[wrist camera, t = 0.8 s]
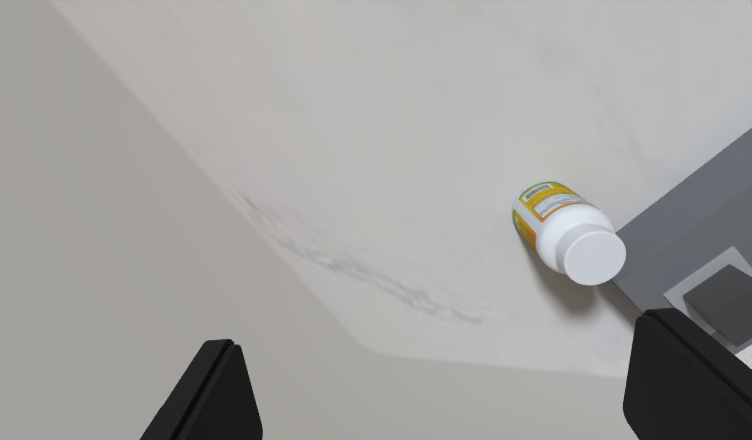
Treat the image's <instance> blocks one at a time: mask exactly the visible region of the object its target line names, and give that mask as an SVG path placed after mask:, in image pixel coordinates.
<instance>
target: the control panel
mask: <svg viewBox="0 0 752 440" xmlns="http://www.w3.org/2000/svg"><path fill="white" fill-rule="evenodd" d="M616 235H617V236H618V237H619V238H620V239H621V240H622V242H623V243H624V245H625V249H626V259H625V262H624V265H623V267H622V268H621V270H620V271H619V272H618V273H617V274H616V275H615V276H614V277H613V278H611V279H610V280H611V281H612V282H613V283H614V284H615V285H616V286H617V287H618V288H619V289H620V291H621V292H622V293H623V294H624V295H625V296H626V297H627V298H628V299H629V300H630V301H631V302H632V303H633V304H634V305H635V306H636V307H637V308H638V309H639V310H640V311H641V312H642V313H644V312H645V310H648V309H659V308H677V309H678V310H680V311H681V312H683V313H684V314H685V315H686V316H687V317H689V318H690V319H691V320H692V321H694V322H695V323H696V324H697V325H698V326H700V327H701V328H702V329H703V330H704V331H706V332H707V333H708V334H709V335H710V336H712V337H713V338H714V339H715V340H717V341H718V342H719V343H720V344H721V345H723V346H724V347H725V348H726V349H727V350H729V351H730V352H731V353H732V354H734V355H735V354H737V353H738V352H740V351H742V350H743V349H745V348H747V347H748V346H750V345H751V344H752V128H751V129H750V130H749V131H747V132H746V133H745V134H743V135H742V136H741V137H740V138H738V139H737V140H736V141H734V142H733V143H732V144H730V145H729V146H728V147H727V148H725V149H724V150H723V151H721V152H720V153H719V154H717V155H716V156H715V157H714V158H712V159H711V160H710V161H708V162H707V163H706V164H705V165H703V166H702V167H701V168H699V169H698V170H697V171H695V172H694V173H693V174H692V175H690V176H689V177H688V178H686V179H685V180H684V181H683V182H681V183H680V184H679V185H677V186H676V187H675V188H673V189H672V190H671V191H670V192H668V193H667V194H666V195H664V196H663V197H662V198H660V199H659V200H658V201H657V202H655V203H654V204H653V205H651V206H650V207H649V208H648V209H646V210H645V211H644V212H642V213H641V214H640V215H638V216H637V217H636V218H635V219H633V220H632V221H631V222H629V223H628V224H627V225H626V226H624V227H623V228H622V229H620V230H619V231H618V232H616Z"/></svg>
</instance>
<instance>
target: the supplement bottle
mask: <svg viewBox="0 0 752 440" xmlns="http://www.w3.org/2000/svg"><path fill="white" fill-rule="evenodd" d="M512 218H513V222H514V224H515V226H516V228H517V229H518V231H519V232H520V233H521V235H522V236H523V237H524V238H525V239H526V241H527V242H528V243H529V245H530V246H531V247H532V248H533V250H534V251H535V252H536V254H537V255H538V256H539V257H540V259H541V260H542V261H543V262H544V263H545V264H546V265H547V266H548V267H549V268H550V269H552V270H554V271H556V272H558V273H562V274H566V275H567V276H568V277H569V278H570V279H571V280H573V281H574V282H576V283H578V284H582V285H588V286H590V285H598V284H601V283H604V282H606V281H608V280H610V279H611V278H613V277H614V276H615V275H616V274H617V273H618V272H619V271H620V270H621V268H622V267H623V265H624V262H625V259H626V249H625V245H624V243H623V242H622V240H621V239H620V238H619V237H618V236H617V235H616V233H615V228H614V225H613V223H612V221H611V220H610V218H609V217H608V216H607V215H606V214H605V213H603V212H602V211H601V210H600V209H598V208H597V207H595V206H593V205H592V204H591V203H589V202H588V201H586V200H585V199H583V198H582V197H580V196H579V195H577V194H576V193H575V192H573V191H572V190H570V189H569V188H567V187H566V186H564V185H562V184H560V183H558V182H555V181H540V182H536V183H534V184H531V185H529V186H528V187H526V188H525V189H524V190H523V191H521V192H520V194H519V195H518V196H517V198H516V200H515V202H514V204H513V208H512Z"/></svg>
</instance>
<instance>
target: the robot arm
mask: <svg viewBox="0 0 752 440" xmlns="http://www.w3.org/2000/svg"><path fill="white" fill-rule="evenodd" d="M623 412H624V415H625V418H626V420H627V422H628V424H629V425H630V427H631V428H632V430H633V431H634V433H635V434H636V435H637V437H638V438H639V440H752V369H750V368H749V367H748V366H747V365H746V364H744V363H743V362H742V361H741V360H740V359H738V358H737V357H736V356H735V355H734V354H732V353H731V352H730V351H729V350H727V349H726V348H725V347H724V346H723V345H721V344H720V343H719V342H718V341H717V340H715V339H714V338H713V337H712V336H710V335H709V334H708V333H707V332H706V331H704V330H703V329H702V328H701V327H700V326H698V325H697V324H696V323H695V322H694V321H692V320H691V319H690V318H689V317H687V316H686V315H685V314H684V313H683V312H681V311H680V310H678V309H677V308H659V309H648V310H645V312H644V313H643V315H642V316H640V317H638V318H637V320H636V324H635V330H634V337H633V343H632V350H631V356H630V362H629V369H628V375H627V382H626V388H625V395H624V401H623ZM262 436H263V429H262V424H261V420H260V416H259V412H258V409H257V405H256V401H255V398H254V394H253V390H252V386H251V383H250V379H249V375H248V371H247V368H246V364H245V360H244V356H243V352H242V349H241V347H240V345H234V342H233V341H232V340H231V339H222V340H208V341H206V342H205V343H204V344H203V345H202V347H201V348H200V350H199V351H198V353H197V354H196V356H195V357H194V359H193V361H192V362H191V363H190V365H189V366H188V368H187V370H186V371H185V373H184V374H183V376H182V377H181V379H180V380H179V382H178V383H177V385H176V386H175V388H174V390H173V391H172V393H171V394H170V396H169V397H168V399H167V400H166V402H165V403H164V405H163V406H162V407H161V408H160V409H159V411H158V413H157V414H156V416H155V417H154V419H153V420H152V422H151V423H150V425H149V426H148V428H147V429H146V431H145V432H144V434H143V435H142V437H141V439H140V440H262Z"/></svg>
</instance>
